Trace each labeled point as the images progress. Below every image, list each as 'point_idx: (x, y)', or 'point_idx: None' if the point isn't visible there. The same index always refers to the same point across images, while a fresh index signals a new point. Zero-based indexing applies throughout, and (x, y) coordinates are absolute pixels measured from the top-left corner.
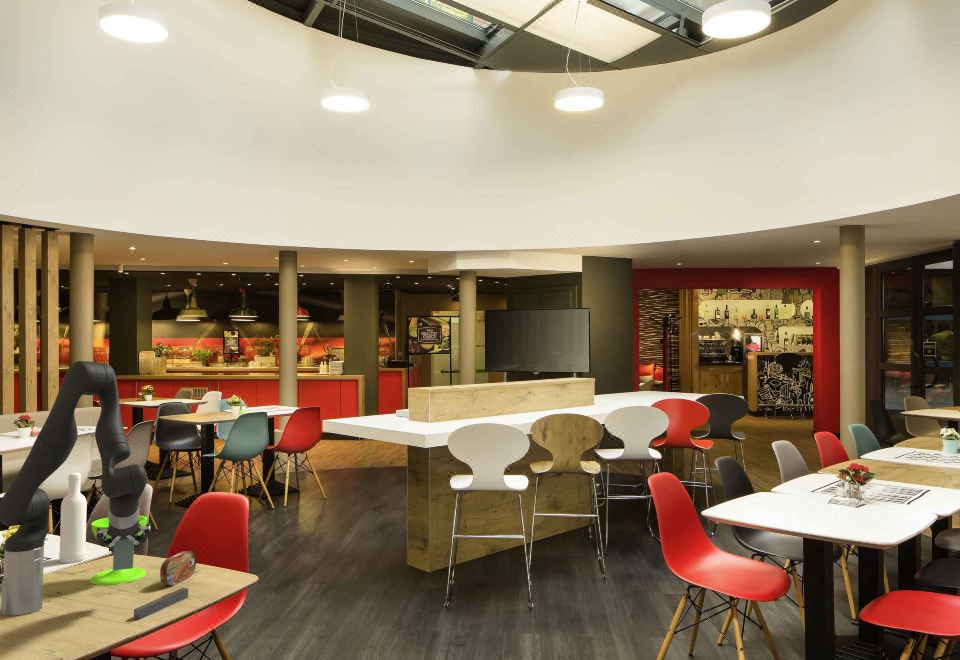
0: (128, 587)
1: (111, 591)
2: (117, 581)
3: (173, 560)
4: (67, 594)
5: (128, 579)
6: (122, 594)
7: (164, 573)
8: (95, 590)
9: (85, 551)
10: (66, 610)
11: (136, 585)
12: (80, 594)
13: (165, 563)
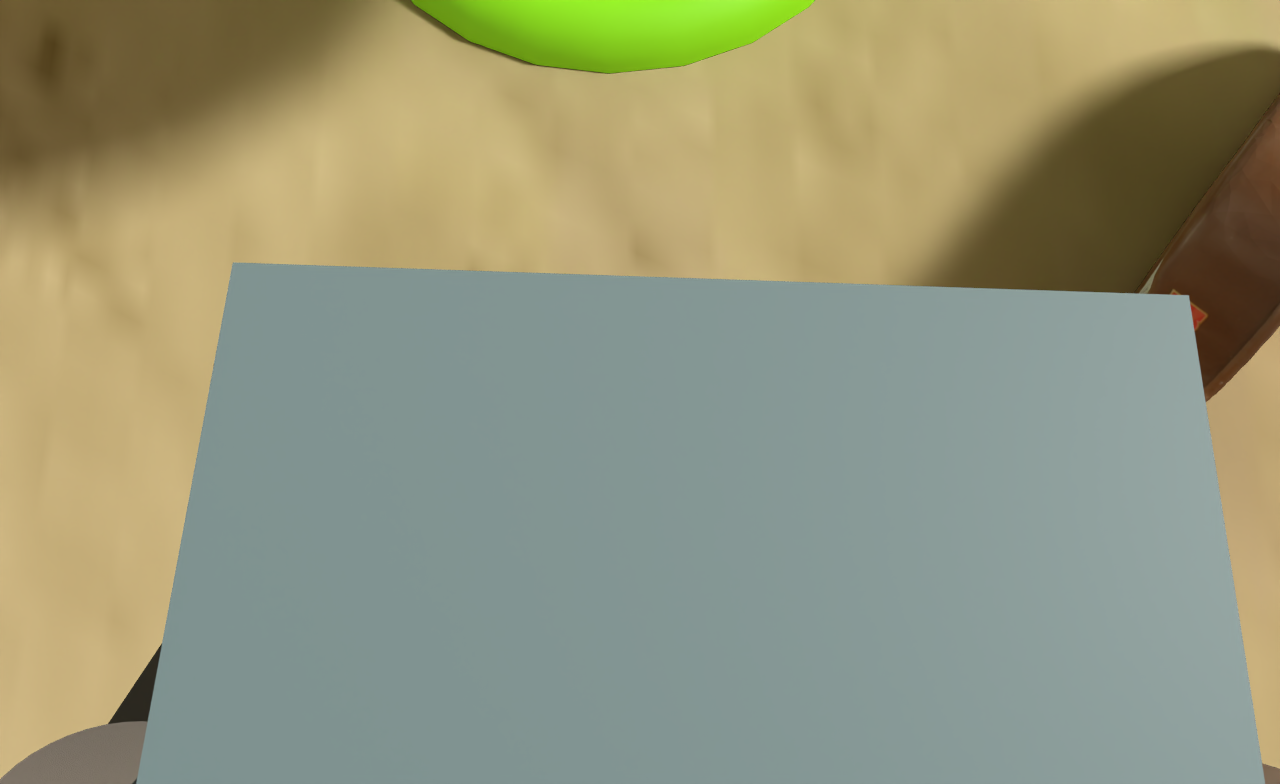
0: (714, 201)
1: (540, 255)
2: (602, 35)
3: None
4: (117, 152)
5: (713, 16)
6: None
7: (1204, 356)
8: (385, 149)
9: None
10: (33, 717)
11: (796, 171)
12: (235, 210)
13: (1269, 223)
